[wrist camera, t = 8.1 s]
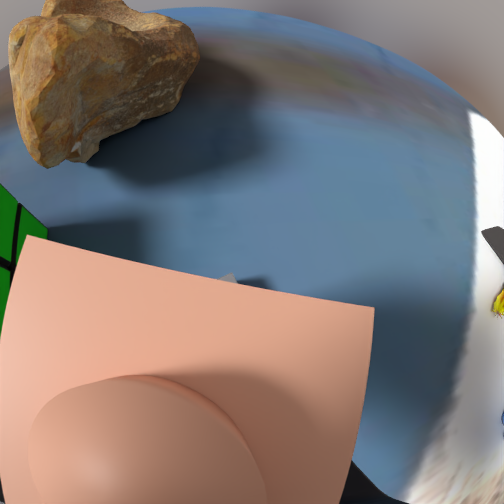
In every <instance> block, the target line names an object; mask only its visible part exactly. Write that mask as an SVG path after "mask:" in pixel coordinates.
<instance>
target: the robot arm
mask: <svg viewBox="0 0 504 504" xmlns="http://www.w3.org/2000/svg"><path fill="white" fill-rule="evenodd" d="M0 504H6V503H5V499H4V494H3V489H2V484H1V478H0ZM339 504H409V503H405V502H402V501H399V500H396V499H393V498H391V497H389V496H387V495H386V494H384V493H383V492H382V491H380V490H379V489H378V488H377V487H376V486H375V485H374V484H373V483H372V482H371V481H370V479H369V478H368V477H367V476H366V475H365V474H364V473H363V472H362V471H361V470H360V469H359V468H358V467H357V466H356V465H355V463H354V462H353V461H352V460H351V464H350V468H349V471H348V475H347V478H346V482H345V485H344V489H343V492H342V495H341V498H340V502H339Z"/></svg>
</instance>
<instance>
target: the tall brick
mask: <svg viewBox="0 0 504 504" xmlns="http://www.w3.org/2000/svg"><path fill="white" fill-rule="evenodd" d="M374 309H375V308H373V307H367V306H361V305H354V304H348V303H342V302H336V301H330V300H324V299H318V298H312V297H306V296H301V295H295V294H289V293H284V292H278V291H273V290H268V289H262V288H257V287H252V286H247V285H241V284H236V283H231V282H226V281H221V280H216V279H211V278H207V277H202V276H197V275H192V274H188V273H183V272H178V271H174V270H169V269H165V268H160V267H156V266H151V265H147V264H142V263H138V262H134V261H129V260H125V259H121V258H116V257H112V256H108V255H104V254H100V253H96V252H92V251H88V250H84V249H80V248H76V247H72V246H68V245H64V244H60V243H56V242H53V241H49V240H45V239H41V238H38V237H34V236H30V235H27V236H26V239H25V242H24V245H23V248H22V251H21V254H20V257H19V260H18V263H17V267H16V270H15V274H14V277H13V281H12V285H11V289H10V293H9V297H8V301H7V306H6V310H5V315H4V320H3V326H2V332H1V338H0V478H1V484H2V489H3V494H4V499H5V503H6V504H339V502H340V498H341V495H342V492H343V489H344V485H345V482H346V478H347V475H348V471H349V468H350V464H351V460H352V456H353V452H354V447H355V443H356V439H357V434H358V429H359V425H360V420H361V414H362V409H363V403H364V397H365V391H366V385H367V378H368V371H369V363H370V354H371V345H372V335H373V323H374Z"/></svg>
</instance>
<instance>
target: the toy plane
mask: <svg viewBox="0 0 504 504" xmlns="http://www.w3.org/2000/svg"><path fill="white" fill-rule="evenodd" d="M481 232H482V235H483V236H484V238H485V239H486V240H487V242H488V243H489V244H490V246H491V247H492V248H493V250H494V251H495V252H496V254H497V255H498V256H499V258H500V259H501V260H502V262H503V263H504V229H502V228H501V227H499V226H497V227H493V228H489V229H485V230H483V231H481ZM492 311H493V310H492ZM493 312H496V315H497V314H499V315H500V313H502V314H501V315H503V316H504V314H503V312H504V289H503V290H502V292H501V293H500V294H499V295H498V296H497V299H496V301H495V302H494V311H493ZM496 315H495V316H496ZM495 316H494V317H495ZM500 317H501V316H500ZM497 318H498V317H497ZM501 318H502V317H501Z"/></svg>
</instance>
